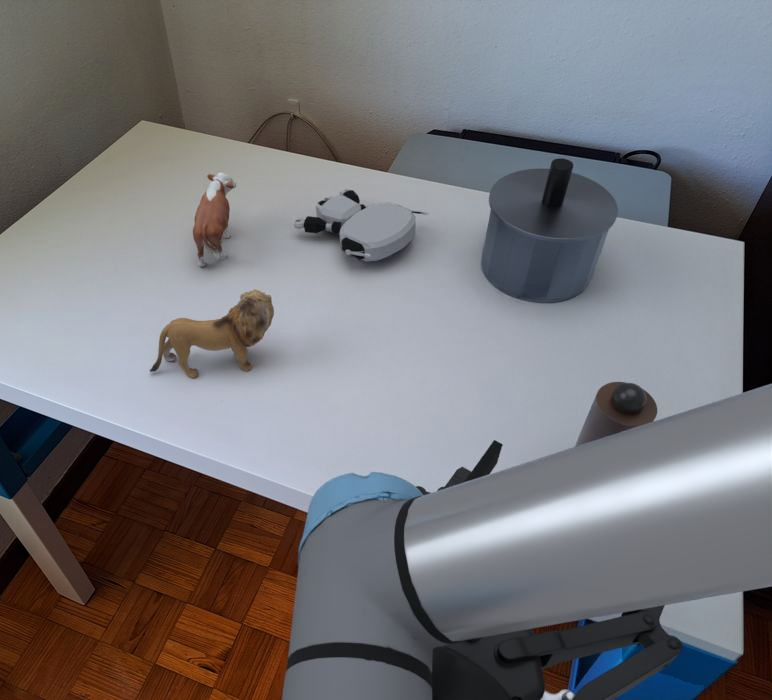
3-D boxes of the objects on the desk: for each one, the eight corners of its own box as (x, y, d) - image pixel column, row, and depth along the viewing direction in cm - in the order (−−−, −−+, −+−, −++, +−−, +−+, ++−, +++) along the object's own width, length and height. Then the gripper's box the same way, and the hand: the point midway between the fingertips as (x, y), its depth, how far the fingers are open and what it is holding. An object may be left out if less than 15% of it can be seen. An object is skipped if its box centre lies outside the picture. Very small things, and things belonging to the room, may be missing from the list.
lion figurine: (272, 333, 81) (267, 275, 75) (282, 365, 77) (277, 306, 71) (148, 359, 79) (131, 301, 72) (153, 393, 75) (135, 335, 69)
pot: (607, 259, 88) (629, 196, 82) (563, 318, 81) (584, 254, 74) (510, 223, 95) (523, 162, 88) (462, 275, 87) (472, 213, 80)
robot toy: (289, 242, 95) (373, 282, 86) (285, 214, 92) (372, 253, 83) (347, 204, 101) (431, 238, 92) (346, 176, 98) (432, 209, 89)
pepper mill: (622, 478, 66) (673, 383, 56) (603, 514, 63) (653, 420, 53) (574, 454, 68) (615, 358, 58) (554, 487, 65) (593, 393, 55)
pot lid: (633, 200, 82) (650, 154, 78) (585, 263, 74) (601, 216, 70) (520, 163, 89) (530, 119, 84) (465, 218, 81) (473, 172, 76)
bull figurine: (245, 216, 98) (239, 165, 92) (221, 276, 89) (213, 224, 83) (215, 214, 99) (207, 163, 93) (189, 273, 89) (179, 221, 84)
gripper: (283, 634, 50) (431, 445, 62) (619, 898, 39) (724, 608, 51) (276, 589, 45) (440, 391, 56) (664, 880, 34) (770, 561, 45)
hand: (575, 493), depth 54 cm, fingers open, 13 cm apart
